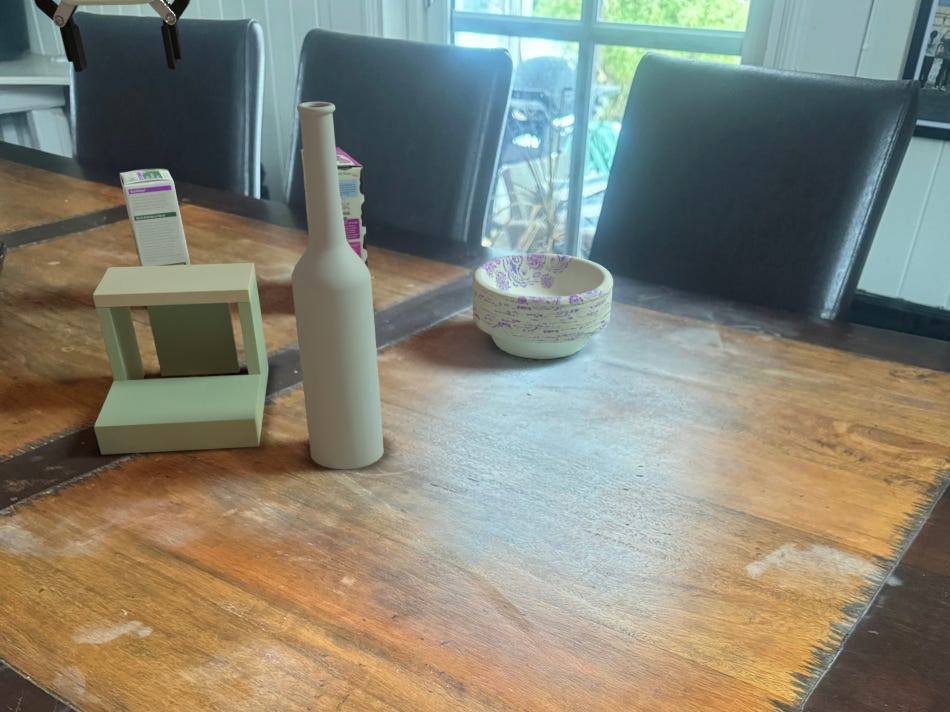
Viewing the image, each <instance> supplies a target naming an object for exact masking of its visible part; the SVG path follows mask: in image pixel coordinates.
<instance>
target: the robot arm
mask: <svg viewBox="0 0 950 712" xmlns="http://www.w3.org/2000/svg"><path fill="white" fill-rule="evenodd" d="M33 1H34V4H35V6H36V7H37V8H38V9H39V10H40V11H41V12H42V13H44V15H46V17H48V18H49V19H50V20H52V22H53V23H54V25H55V26H56V27H58V28H59V31H60V36H61V39H62V40H61V41H62V44H63V48H64V52H65V56H66V60H67V62H69V63H72V64H73V68H74V72H75V73H81V72H83V71H84V70H86V69H87V68H88V61H87V57H86V53H85V49H84V43H83V39H82V36H81V31H80V27H79V25H77V23H75V21H74V16H75V14H76V11H77V10H78V8H79V7H80V6H85V7H86V6H87V7H89V6H134V5H135V6H136V5H146V4H148V5H149V6H150V7H151V8H152V9H153V10H154V11H155V12H156V13H157V14H158V15H159V16H160V18H161V21H162V25H161V26H160V32H161V37H162V42H163V47H164V52H165V53H164V54H165V59H166V64H167V68H168V69H170V70H171V71H172V70H177V69H178V68H179V66H180V65H179V64H180V63H179V60H184V59H183V58H184V57H183V56H184V55H183V49H182V43H181V37H180V32H179V26H178V22H179V20H180V18H181V17H182V15H183V14H184V12H185V11H186V9H187V8H188V6H189V5H190V3H191V0H172V2H170V1H169V0H60V2H59V4H58V3H57V2H56V1H55V0H33Z"/></svg>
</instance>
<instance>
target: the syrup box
mask: <svg viewBox="0 0 950 712" xmlns="http://www.w3.org/2000/svg"><path fill="white" fill-rule="evenodd" d="M119 178H120V183H121V187H122V192H123V193H122V194H123V198H124V202H125V206H126V210H127V211H126V212H127V215H128V216H127V217H128V221H129V224H130V229H131V233H132V237H133V242H134V247H135V250H136V251H135V252H136V256H137V259H138V264H139V266H169V265H191V260H190V256H189V255H190V254H189V250H188V245H187V241H186V240H187V239H186V235H185V230H184V226H183V221H182V216H181V212H180V207H179V202H178V197H177V191H176V187H175V181H174V179H173V177H172V176H171V173H170V172H169V170H168V169H167V168H143V169H135V170H129V171H124V172H119Z"/></svg>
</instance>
